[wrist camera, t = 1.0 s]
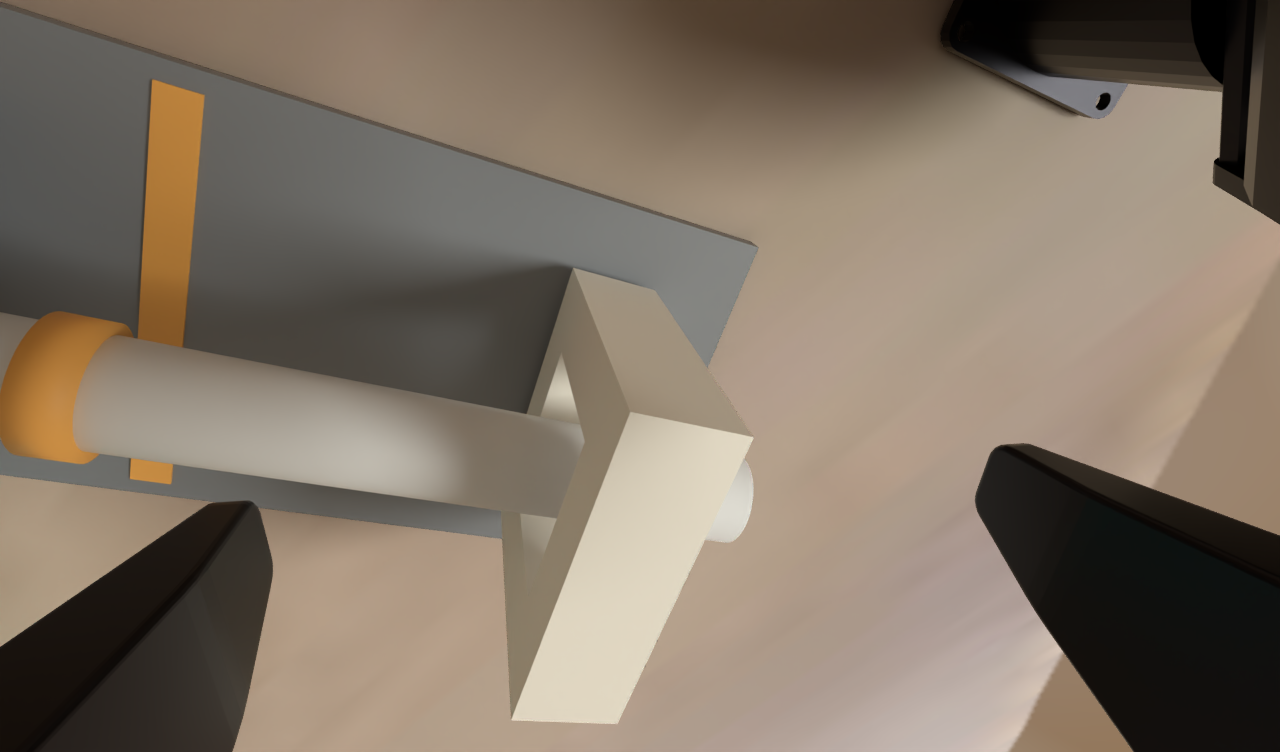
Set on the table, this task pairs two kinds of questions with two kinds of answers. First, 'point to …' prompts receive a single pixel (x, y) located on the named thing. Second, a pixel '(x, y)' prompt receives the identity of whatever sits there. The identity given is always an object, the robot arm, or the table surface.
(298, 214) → the pipe mount
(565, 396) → the collar ring
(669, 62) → the table surface
